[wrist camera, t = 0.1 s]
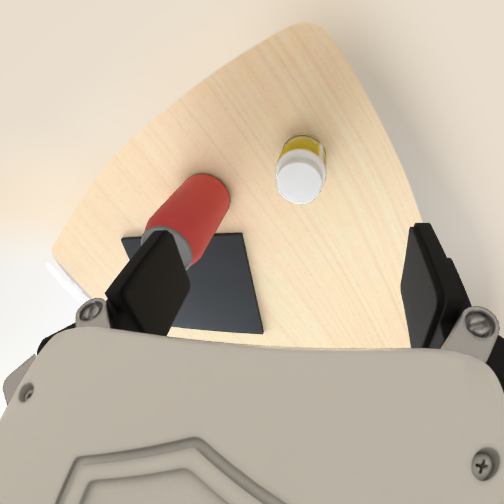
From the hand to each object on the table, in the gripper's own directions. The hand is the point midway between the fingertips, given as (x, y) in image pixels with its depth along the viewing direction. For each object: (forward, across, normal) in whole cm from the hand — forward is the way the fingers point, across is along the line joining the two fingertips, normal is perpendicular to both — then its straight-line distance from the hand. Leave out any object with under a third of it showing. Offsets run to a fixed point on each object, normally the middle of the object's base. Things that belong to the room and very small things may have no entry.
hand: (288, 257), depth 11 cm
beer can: (+23, +14, +8) cm, 28 cm away
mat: (+23, +20, +23) cm, 38 cm away
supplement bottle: (+23, +1, +3) cm, 24 cm away
